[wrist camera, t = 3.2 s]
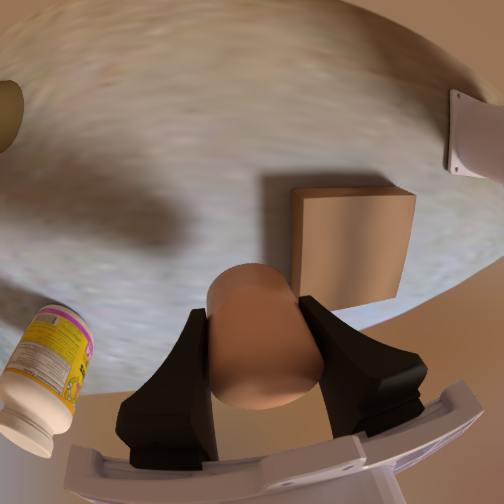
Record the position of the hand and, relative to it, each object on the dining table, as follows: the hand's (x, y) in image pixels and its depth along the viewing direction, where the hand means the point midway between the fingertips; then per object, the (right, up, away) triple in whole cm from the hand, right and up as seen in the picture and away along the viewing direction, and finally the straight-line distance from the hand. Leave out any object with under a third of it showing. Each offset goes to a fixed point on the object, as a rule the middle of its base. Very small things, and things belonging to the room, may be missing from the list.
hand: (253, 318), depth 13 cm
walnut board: (+7, +4, +7) cm, 11 cm away
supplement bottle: (-18, -4, +7) cm, 20 cm away
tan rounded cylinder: (0, +1, +1) cm, 2 cm away
